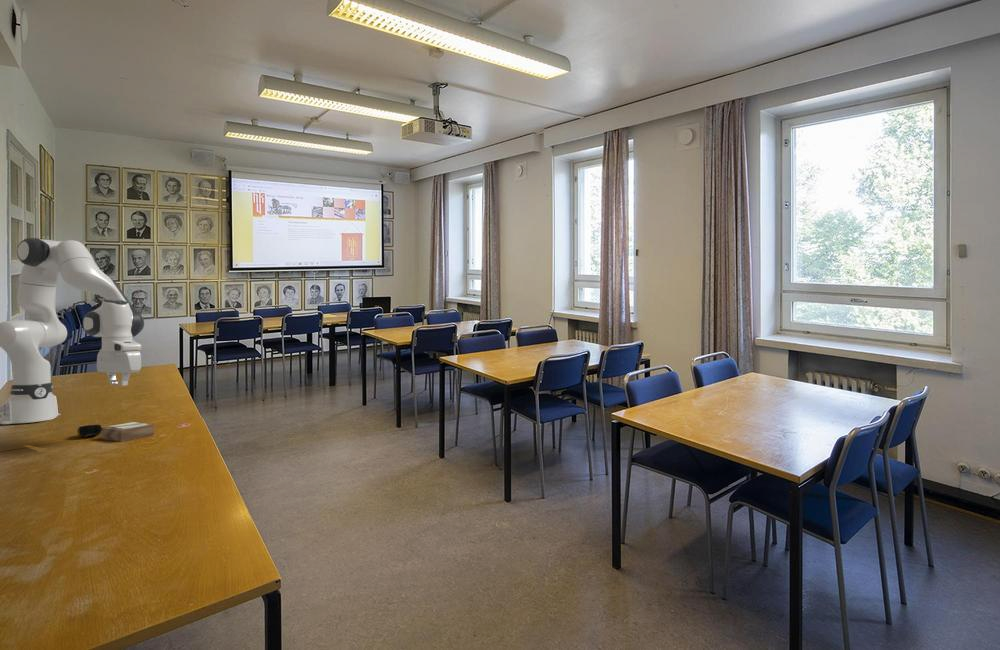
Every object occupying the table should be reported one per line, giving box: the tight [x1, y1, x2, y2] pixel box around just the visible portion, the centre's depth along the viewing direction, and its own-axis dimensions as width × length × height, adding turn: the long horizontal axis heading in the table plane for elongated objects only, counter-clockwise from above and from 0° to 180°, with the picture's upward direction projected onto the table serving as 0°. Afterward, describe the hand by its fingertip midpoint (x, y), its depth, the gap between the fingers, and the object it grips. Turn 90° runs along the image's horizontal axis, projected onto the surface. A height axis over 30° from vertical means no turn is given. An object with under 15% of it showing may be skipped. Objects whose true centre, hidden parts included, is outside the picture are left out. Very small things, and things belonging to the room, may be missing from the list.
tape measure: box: [77, 424, 103, 438], centre depth 187 cm, size 7×7×4 cm
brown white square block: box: [101, 421, 155, 443], centre depth 187 cm, size 11×11×4 cm
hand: (118, 385), depth 187 cm, fingers open, 5 cm apart
